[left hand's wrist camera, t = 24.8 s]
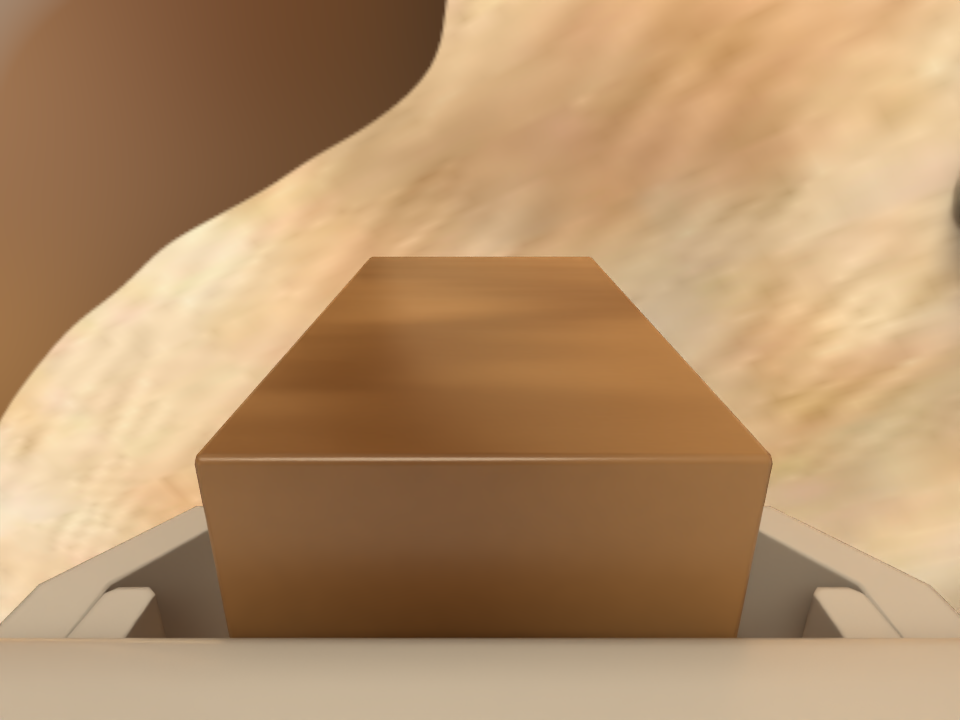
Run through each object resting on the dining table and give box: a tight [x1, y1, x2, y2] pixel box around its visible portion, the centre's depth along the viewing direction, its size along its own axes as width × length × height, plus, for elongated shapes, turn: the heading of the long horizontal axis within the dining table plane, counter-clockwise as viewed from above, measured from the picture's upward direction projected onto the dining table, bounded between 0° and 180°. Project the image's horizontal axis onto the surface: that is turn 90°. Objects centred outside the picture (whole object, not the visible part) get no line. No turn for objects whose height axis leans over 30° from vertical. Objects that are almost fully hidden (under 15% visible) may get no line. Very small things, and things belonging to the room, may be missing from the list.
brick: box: [195, 257, 772, 638], centre depth 10 cm, size 5×6×9 cm
